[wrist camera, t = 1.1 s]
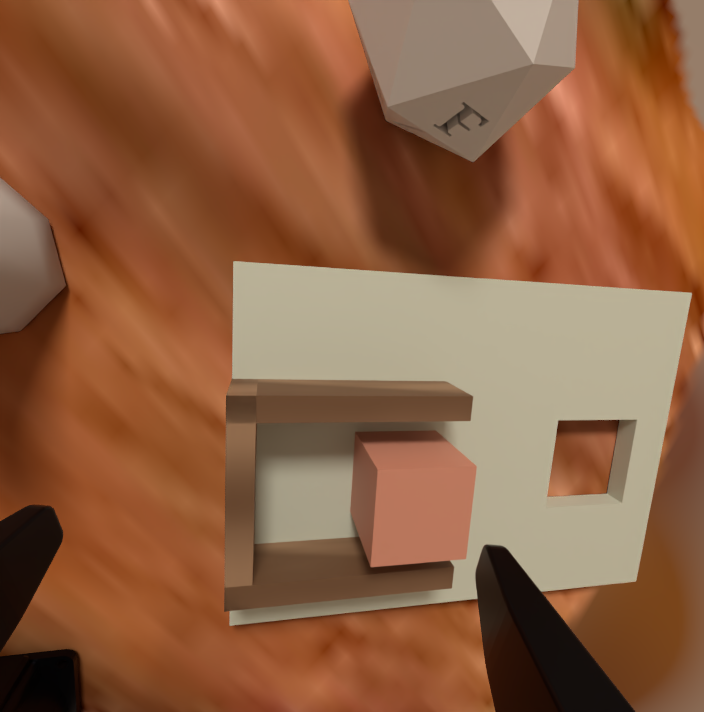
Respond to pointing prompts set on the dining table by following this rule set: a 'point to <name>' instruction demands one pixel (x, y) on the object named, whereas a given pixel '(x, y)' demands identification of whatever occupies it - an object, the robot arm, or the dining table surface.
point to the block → (411, 497)
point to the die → (465, 63)
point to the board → (488, 417)
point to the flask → (25, 261)
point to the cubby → (324, 556)
